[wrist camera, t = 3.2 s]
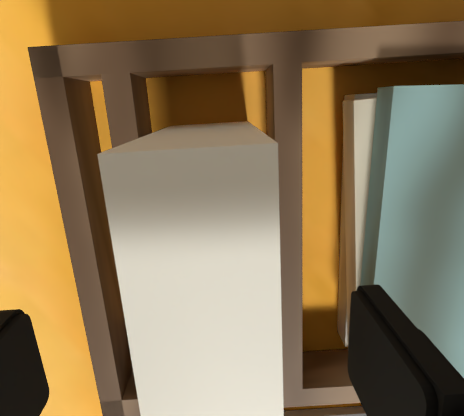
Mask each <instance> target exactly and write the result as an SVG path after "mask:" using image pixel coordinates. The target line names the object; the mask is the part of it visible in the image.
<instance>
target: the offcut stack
mask: <svg viewBox="0 0 464 416" xmlns="http://www.w3.org/2000/svg"><path fill="white" fill-rule="evenodd" d="M376 284H378V285H380V286H381V287H382V288H383V289H384V290H385V292H386V293H387V294H388V295H389V296H390V297H391V298H392V300H393V301H394V302H395V303H396V304H397V305H398V307H399V308H400V309H401V310H402V311H403V312H404V313H405V315H406V316H407V317H408V318H409V319H410V320H411V322H412V323H413V324H414V325H415V326H416V327H417V329H420V330H421V331H422V332H423V333H425V335H426V336H427V337H428V338H429V339H430V340H431V341H432V343H433V344H434V345H435V346H436V347H437V348H438V349H439V351H440V352H441V353H442V354H443V355H444V356H445V357H446V359H447V360H448V361H449V362H450V363H451V364H452V365H453V367H454V368H455V369H456V370H457V371H458V372H459V373H460V375H461V376H462V377H463V378H464V84H458V85H416V86H390V87H381V88H378V90H377V93H369V94H353V95H344V101H343V156H342V189H341V222H340V255H339V287H338V320H337V331H338V333H339V335H340V337H341V339H342V341H343V344H344V346H345V347H347V346H348V344H349V324H350V303H351V293H352V291H357V287H358V286H362V285H376Z"/></svg>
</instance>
